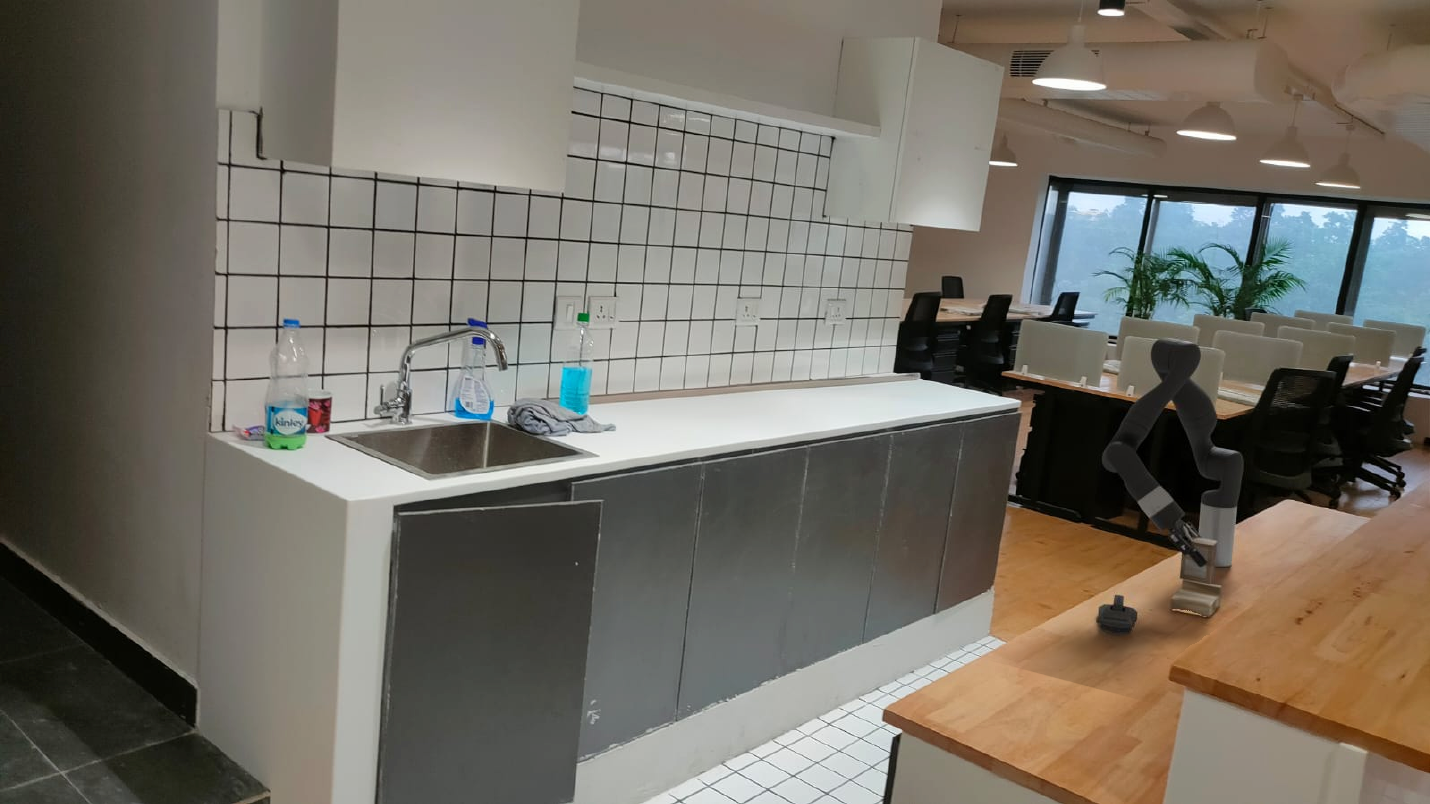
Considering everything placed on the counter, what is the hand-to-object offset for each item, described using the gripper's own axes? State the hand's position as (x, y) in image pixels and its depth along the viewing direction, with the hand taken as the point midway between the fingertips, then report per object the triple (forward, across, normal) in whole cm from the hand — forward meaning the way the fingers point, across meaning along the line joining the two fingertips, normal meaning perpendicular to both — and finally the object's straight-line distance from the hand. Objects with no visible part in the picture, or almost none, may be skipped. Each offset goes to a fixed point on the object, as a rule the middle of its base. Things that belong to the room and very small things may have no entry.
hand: (1206, 562), depth 268 cm
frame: (+2, 0, +5) cm, 5 cm away
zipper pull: (0, -28, +18) cm, 33 cm away
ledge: (+7, 0, +10) cm, 12 cm away
